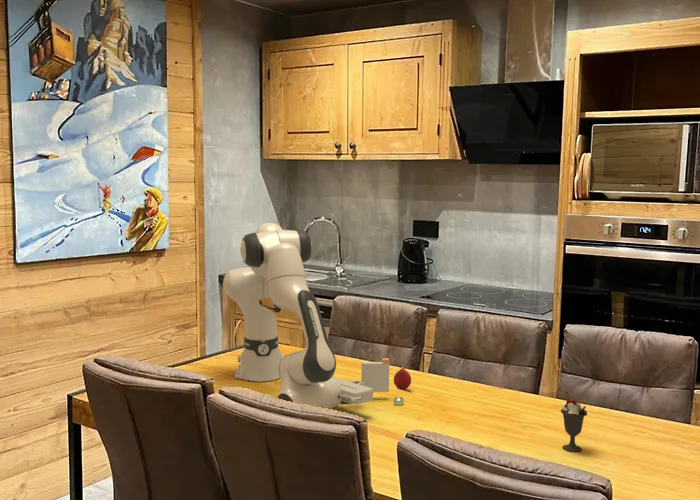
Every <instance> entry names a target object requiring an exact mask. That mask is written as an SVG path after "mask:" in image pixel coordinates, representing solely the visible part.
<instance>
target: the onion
mask: <svg viewBox="0 0 700 500" xmlns="http://www.w3.org/2000/svg"><path fill="white" fill-rule="evenodd" d="M405 369H406V368H405V367H404V366H402V367H400V370H398V371H397V372H396V373H395V374H394V376H393V384H394V386H395V387H396V388H397V389H398V390H399V391H405V390H406V389H408V387H410V386H411V384H412V377H411V374H410V373H409V371H407V370H405Z"/></svg>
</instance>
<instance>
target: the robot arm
mask: <svg viewBox="0 0 700 500" xmlns="http://www.w3.org/2000/svg"><path fill="white" fill-rule="evenodd" d="M239 251H240V256H241V259H242V261H243V263H244V264H245V265H247V267H238V268H233V269H230V270H228V271H227V272H226V273H225V275H224V277H223V281H222V286H223V290H224V292H225V294H226V296H228V297H229V298H230V299H232V300H233V301H234V302H235V303H236V304H237V305H238V307H239V308H240V310H241V311H242V312H241V313H242V314H243V319H244V333H245V336H244V339H243V351H242V352H241V354H240V355H238V356H237V363H240V364H238V365H237V368H236V371H235V373H234V379H237V378H238V379H239V380H245V381H248V380H249V381H250V382H269V381H275V380H278V379H280V390H279V391H278V394H277V398H279V399H283V400H286V401H291V402H295V403H300V404H307V405H311V406H316V407H321V408H328V409H329V410H332V409H335V408H337V407H339V406H340V405H341V404H340V403H341V401H344V402H347V403H350V404H351V405H360V404H365V403H369V402H372V401H373V399H374V392H373V389H372V388H370V387H367V386H364V382H361V381H360V380H346V379H342V378H339V377H336V376H334V374H335V372H336V368H337V361H336V356H335V354H334V353H335V352H333V349H332V347H331V345H330V341H329V339H328V335H327V332H326V329H325V326H324V325H325V324H324V320H323V317H322V314H321V310H320V306H319V303H318V301H317V299H316V297H315V295H314V293H313V292H311V291H310V289H309V286H308V283H307V279H306V271H305V267H304V264H303V263H306V262H308V261H309V260H310V258H311V256H312V252H313V243H312V239H311V236H310V235H309V233H308V232H307V231H305V230H301V229H295V230H294V229H293V230H292V229H289V230H288V229H283V228H282V227H281V226H280V225H279V224H277V223H274V222H265V223H262V224H261V225H260V226H258V228H257V229H256V231H255V232H251V233H248V234H245V235H244V236H243V238H242V241H241V243H240V250H239ZM261 299H271V301H272V303H273V304H274V305H275V306H276V307H277V308H279V309H280V310H281V309H282V310H284V311H288V312H292V313H295V315H296V316H298V318H299V320H300V324H301V327H302V331H303V335H304V339H305V347H304V349H301V350H299V351H294V352H292V353H288V354H286V355H283V354H284V353H283V352H282V351H281V350H280V349H279V336H278V327H277V326H278V319H277V315H276V313H275V312H274V311H273V310H272V309H270V308H267V307H265V306H263V305H261V304H260V300H261ZM238 379H237V380H238Z"/></svg>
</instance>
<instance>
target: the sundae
mask: <svg viewBox="0 0 700 500" xmlns="http://www.w3.org/2000/svg"><path fill="white" fill-rule="evenodd" d="M565 394H567V396H568V398H567V399H566V400H565V401H566V402H565V404H564V405H563V407H562V408H561V409H560V412H561V414H562V417H563V424H564V431H565V432H566V433H567V434H568V436H569V437H570V439H569V443H568V444H563V446H562V449H563V450H564V451H566V452H570V453H580V452H582V451H583V448H582V447H581V446H579V445H577V444H576V437H577V436H579V435H580V434H581V432H582V429H583V423H584V418H585V416H588V411H587V410H586V407H587V406H586V405H585V406H583V407H582V404H580V402H579V401H577V400H575V399H574V398H572V396H571V395H570V394H569V391H565Z"/></svg>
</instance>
